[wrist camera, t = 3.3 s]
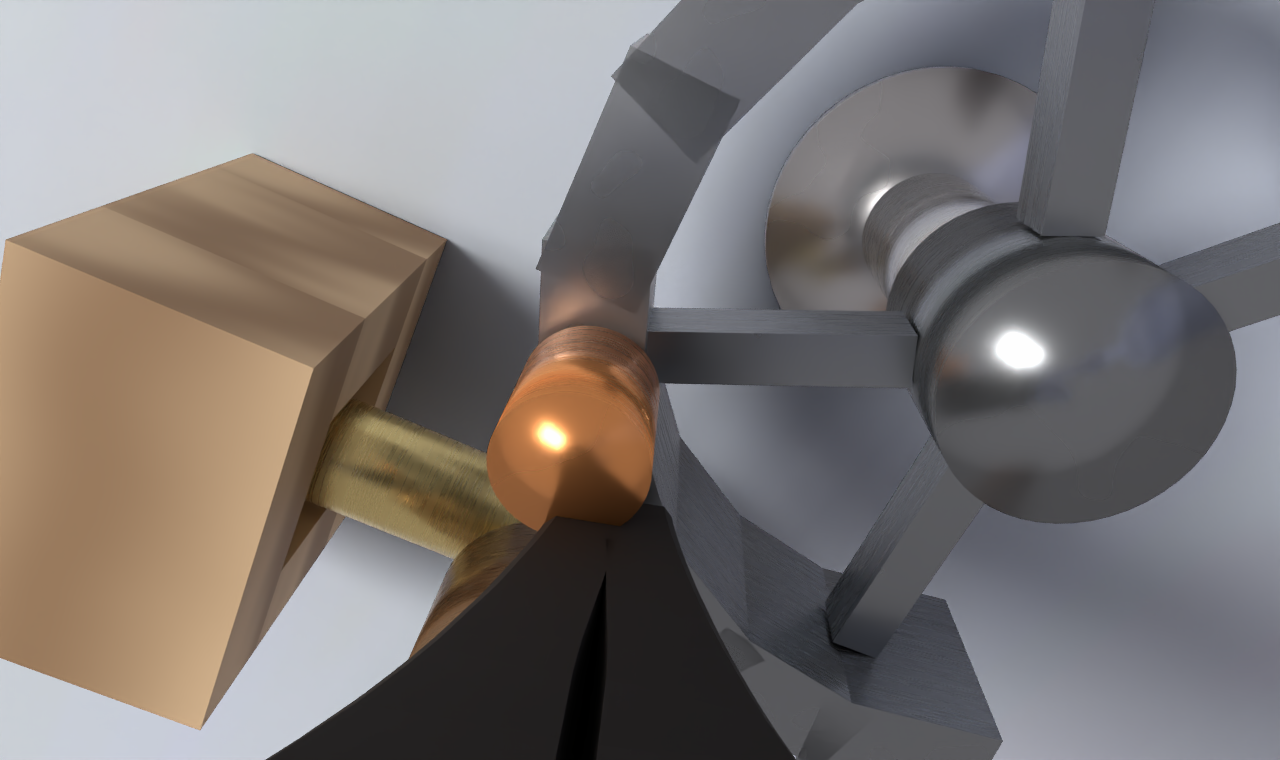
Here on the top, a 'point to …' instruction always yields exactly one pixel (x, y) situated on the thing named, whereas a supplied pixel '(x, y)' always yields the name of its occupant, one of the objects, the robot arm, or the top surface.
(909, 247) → the axle post
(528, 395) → the locking wheel
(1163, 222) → the top surface
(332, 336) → the block
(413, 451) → the brass bar with knob
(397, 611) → the top surface
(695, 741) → the robot arm
